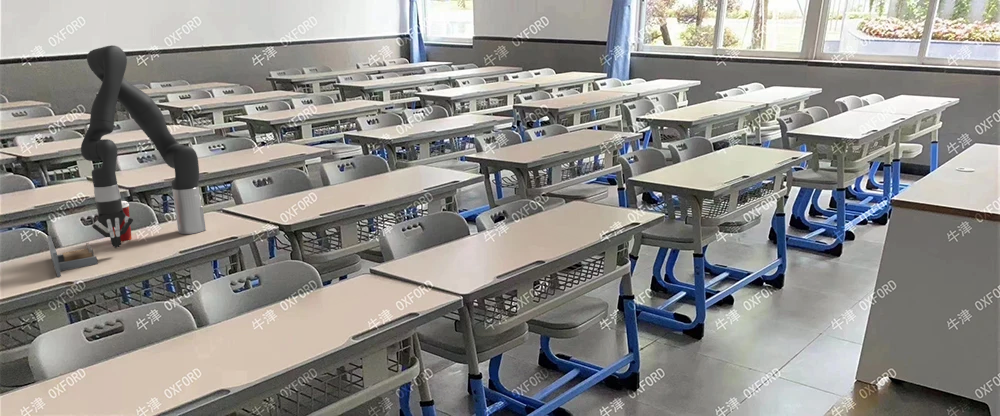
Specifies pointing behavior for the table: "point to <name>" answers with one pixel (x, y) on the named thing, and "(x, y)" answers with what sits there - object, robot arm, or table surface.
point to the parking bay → (62, 265)
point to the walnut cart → (78, 254)
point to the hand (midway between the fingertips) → (116, 247)
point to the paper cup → (128, 233)
